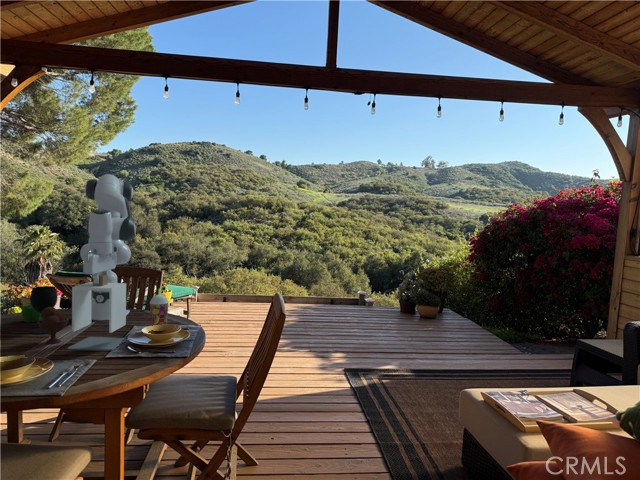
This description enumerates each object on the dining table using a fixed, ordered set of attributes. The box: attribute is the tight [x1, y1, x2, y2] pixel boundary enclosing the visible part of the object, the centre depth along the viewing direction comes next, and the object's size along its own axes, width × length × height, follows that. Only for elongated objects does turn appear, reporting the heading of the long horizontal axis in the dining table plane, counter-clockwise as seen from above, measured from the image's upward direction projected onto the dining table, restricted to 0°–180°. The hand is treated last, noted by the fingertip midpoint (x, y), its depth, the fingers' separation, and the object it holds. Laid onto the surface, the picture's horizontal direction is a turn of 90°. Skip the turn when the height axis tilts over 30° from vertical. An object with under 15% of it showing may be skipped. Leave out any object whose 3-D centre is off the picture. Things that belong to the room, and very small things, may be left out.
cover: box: [71, 275, 127, 334], centre depth 176 cm, size 13×16×22 cm
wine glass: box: [29, 285, 58, 335], centre depth 192 cm, size 10×10×20 cm
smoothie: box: [149, 288, 170, 327], centre depth 199 cm, size 8×8×20 cm
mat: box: [66, 336, 125, 352], centre depth 176 cm, size 16×18×1 cm
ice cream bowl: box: [37, 306, 69, 345], centre depth 177 cm, size 11×11×15 cm
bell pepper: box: [21, 301, 42, 324], centre depth 209 cm, size 8×8×10 cm
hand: (100, 282), depth 175 cm, fingers closed on cover, 4 cm apart
